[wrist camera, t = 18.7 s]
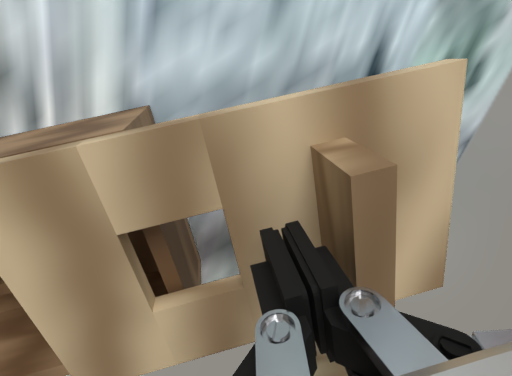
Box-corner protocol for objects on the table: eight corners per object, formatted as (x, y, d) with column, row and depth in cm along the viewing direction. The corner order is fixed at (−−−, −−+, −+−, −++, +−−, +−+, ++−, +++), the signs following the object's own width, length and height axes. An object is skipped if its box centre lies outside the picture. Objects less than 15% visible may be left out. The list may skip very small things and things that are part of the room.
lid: (89, 373, 16) (52, 480, 12) (-47, 168, 11) (-192, 233, 7) (430, 274, 18) (499, 339, 14) (448, 59, 13) (566, 59, 9)
